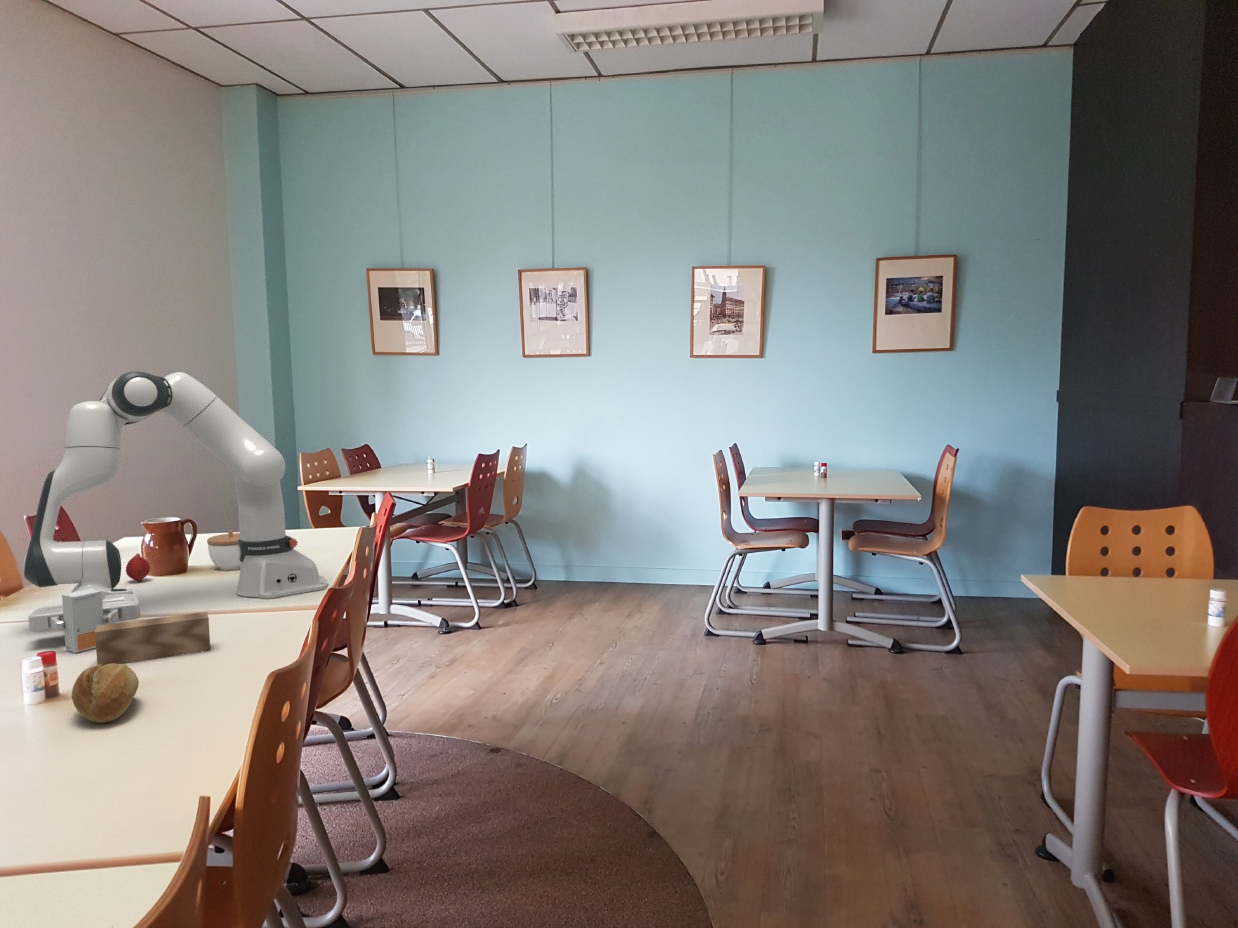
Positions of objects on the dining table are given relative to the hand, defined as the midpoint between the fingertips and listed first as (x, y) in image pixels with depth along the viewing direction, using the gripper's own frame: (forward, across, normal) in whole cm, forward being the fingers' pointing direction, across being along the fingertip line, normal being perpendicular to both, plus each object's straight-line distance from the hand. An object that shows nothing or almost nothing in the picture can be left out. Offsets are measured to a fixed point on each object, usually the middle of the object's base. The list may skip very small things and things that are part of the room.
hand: (83, 623), depth 175 cm
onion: (-61, +8, +6) cm, 62 cm away
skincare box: (-1, 0, +6) cm, 6 cm away
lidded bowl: (-67, +32, +6) cm, 74 cm away
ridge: (+11, +13, +6) cm, 18 cm away
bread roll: (+40, +6, +6) cm, 41 cm away
